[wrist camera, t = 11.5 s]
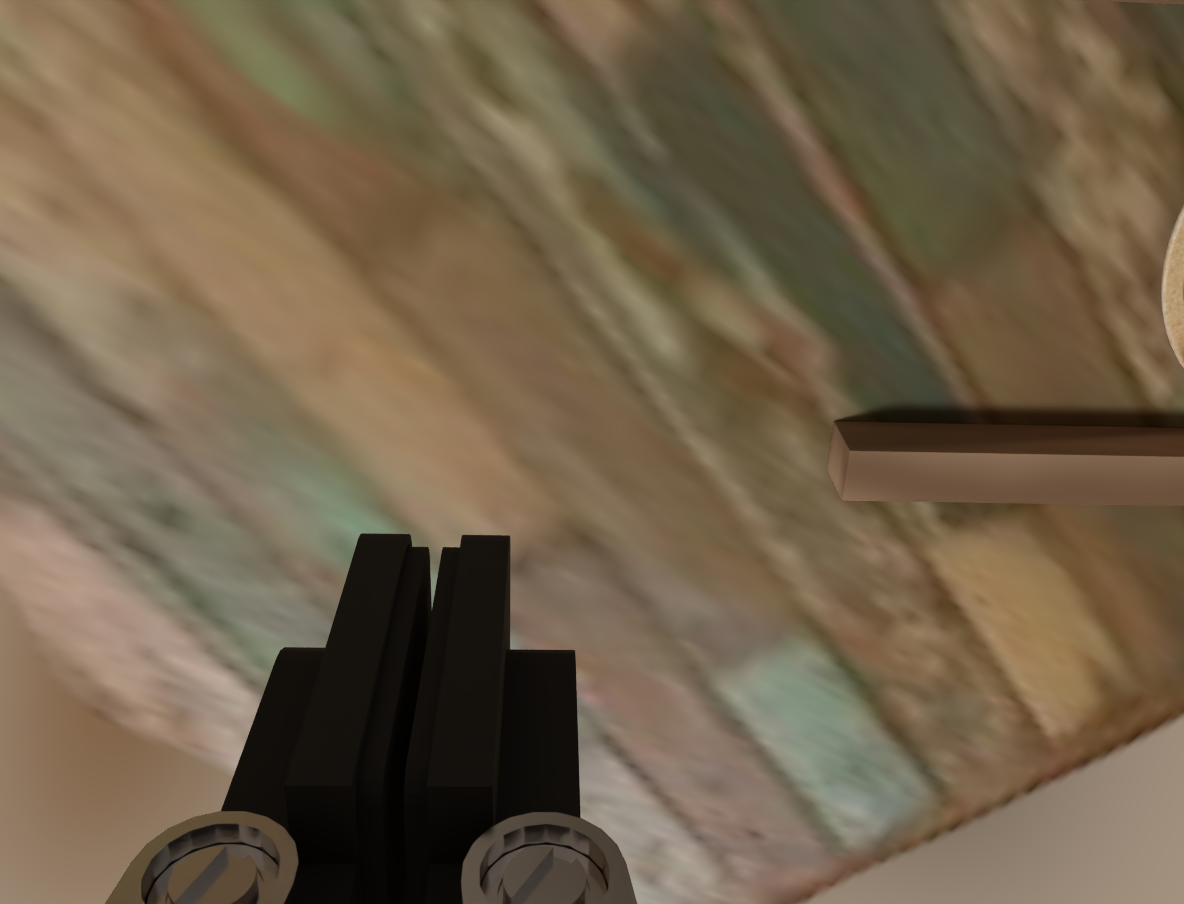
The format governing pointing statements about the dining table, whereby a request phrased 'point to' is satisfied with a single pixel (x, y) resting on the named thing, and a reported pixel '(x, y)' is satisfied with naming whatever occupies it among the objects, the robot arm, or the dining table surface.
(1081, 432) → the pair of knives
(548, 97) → the dining table surface
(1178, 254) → the toy food set
